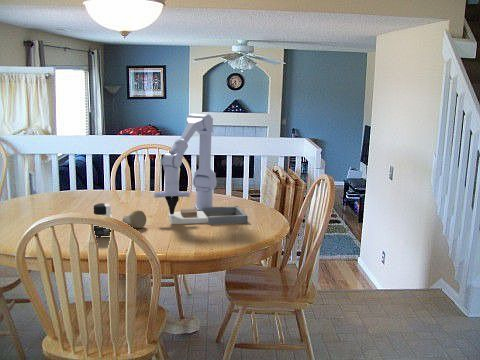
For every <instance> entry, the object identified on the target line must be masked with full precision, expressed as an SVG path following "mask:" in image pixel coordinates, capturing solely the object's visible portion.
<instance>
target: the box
mask: <svg viewBox="0 0 480 360" xmlns="http://www.w3.org/2000/svg"><path fill="white" fill-rule="evenodd" d="M201 211H203V212H204V214H205V215H206V216H207V218H208V223H207V224H208V225H227V224H247V223H248V218H249V216H248V215H247V214H246V213H245V211H244V210H243V209H241V208H240V207H239V206H238V205H235V206H233V205H232V206H231V205H230V206H229V205H228V206H213V207H202V210H201ZM232 213H236V214H235V215H233V214H232ZM208 215H210V216H208ZM212 215H213V216H212Z"/></svg>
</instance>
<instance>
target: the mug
mask: <svg viewBox="0 0 480 360" xmlns="http://www.w3.org/2000/svg"><path fill="white" fill-rule="evenodd" d="M122 221H123V222H125V223H127V224H128V225H130V226H129V227H131V226H132V227H131V228H133V227H134V228H133V229H142V228H144V227H145V225H146V224H147V216H146V214H145V213H144V211H142V210H134V211H132V212H130V213H129V214H128V215H125V216H123V217H122V220H121V222H122ZM123 222H122V223H123Z"/></svg>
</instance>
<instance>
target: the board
mask: <svg viewBox="0 0 480 360" xmlns="http://www.w3.org/2000/svg"><path fill="white" fill-rule="evenodd" d="M196 211H197V217H182V215H181V211H174V214H170V211H168V212H167V214H168V216H167V217H168V219H169V222H170V224H171V225H185V224H187V225H188V224H189V225H190V224H208V215H205V214H204V212H203V211H202V210H196Z"/></svg>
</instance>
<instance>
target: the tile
mask: <svg viewBox="0 0 480 360" xmlns="http://www.w3.org/2000/svg"><path fill="white" fill-rule="evenodd" d="M197 211H198V210H197V209H196V208H181V209H180V212H181V215H182V217H197Z"/></svg>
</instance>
